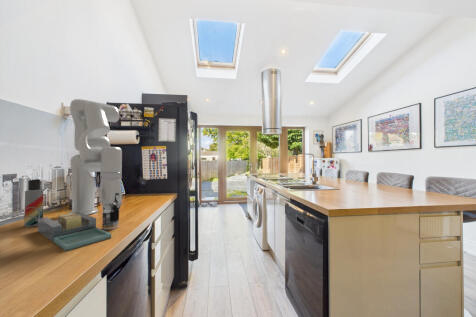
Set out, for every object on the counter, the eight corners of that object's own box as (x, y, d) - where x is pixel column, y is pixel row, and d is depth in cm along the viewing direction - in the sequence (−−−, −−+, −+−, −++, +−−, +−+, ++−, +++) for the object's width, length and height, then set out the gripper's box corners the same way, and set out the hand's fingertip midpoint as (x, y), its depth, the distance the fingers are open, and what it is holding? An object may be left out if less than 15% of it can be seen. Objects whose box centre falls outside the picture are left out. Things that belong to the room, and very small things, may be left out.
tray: (53, 242, 68) (53, 237, 68) (97, 231, 79) (97, 227, 79) (65, 251, 61) (65, 246, 61) (111, 237, 72) (111, 233, 72)
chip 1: (58, 224, 78) (58, 215, 78) (72, 221, 82) (72, 212, 82) (61, 226, 76) (61, 216, 76) (76, 223, 80) (76, 214, 80)
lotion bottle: (30, 227, 83) (31, 179, 84) (20, 226, 85) (21, 179, 85) (46, 223, 89) (47, 178, 89) (36, 222, 90) (37, 178, 90)
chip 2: (62, 226, 76) (62, 217, 76) (77, 223, 79) (77, 214, 79) (66, 228, 73) (66, 218, 73) (81, 225, 77) (81, 216, 77)
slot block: (37, 231, 79) (38, 218, 79) (77, 222, 90) (78, 211, 90) (52, 241, 69) (52, 227, 69) (95, 230, 79) (96, 218, 79)
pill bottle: (102, 227, 84) (102, 203, 84) (117, 224, 87) (118, 202, 87) (102, 231, 79) (103, 206, 79) (119, 228, 82) (119, 204, 83)
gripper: (92, 176, 85) (91, 218, 85) (111, 177, 75) (110, 225, 75) (111, 175, 91) (110, 214, 91) (131, 176, 82) (130, 220, 81)
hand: (110, 219), depth 83 cm, fingers closed on pill bottle, 5 cm apart
